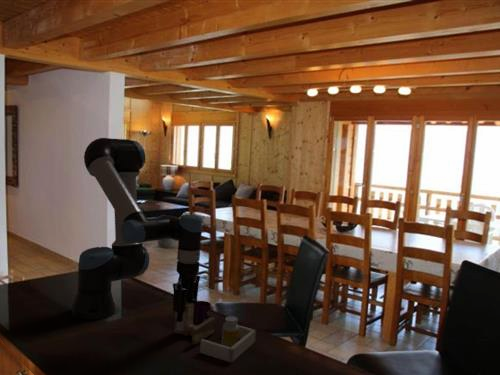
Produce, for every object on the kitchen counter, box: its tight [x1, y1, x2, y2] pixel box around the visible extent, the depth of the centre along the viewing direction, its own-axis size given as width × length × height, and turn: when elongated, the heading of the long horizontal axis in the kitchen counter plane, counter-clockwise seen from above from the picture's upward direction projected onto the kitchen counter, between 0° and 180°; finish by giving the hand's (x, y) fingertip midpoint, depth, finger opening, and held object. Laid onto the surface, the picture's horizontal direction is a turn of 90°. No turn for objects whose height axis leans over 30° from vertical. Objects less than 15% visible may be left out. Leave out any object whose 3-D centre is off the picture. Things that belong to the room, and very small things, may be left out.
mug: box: [193, 300, 212, 326], centre depth 160 cm, size 7×10×7 cm
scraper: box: [173, 302, 216, 346], centre depth 147 cm, size 11×12×10 cm
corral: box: [199, 324, 257, 364], centre depth 141 cm, size 11×17×4 cm, turn 155°
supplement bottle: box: [220, 315, 239, 347], centre depth 141 cm, size 5×5×10 cm
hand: (183, 327), depth 148 cm, fingers closed on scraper, 3 cm apart
